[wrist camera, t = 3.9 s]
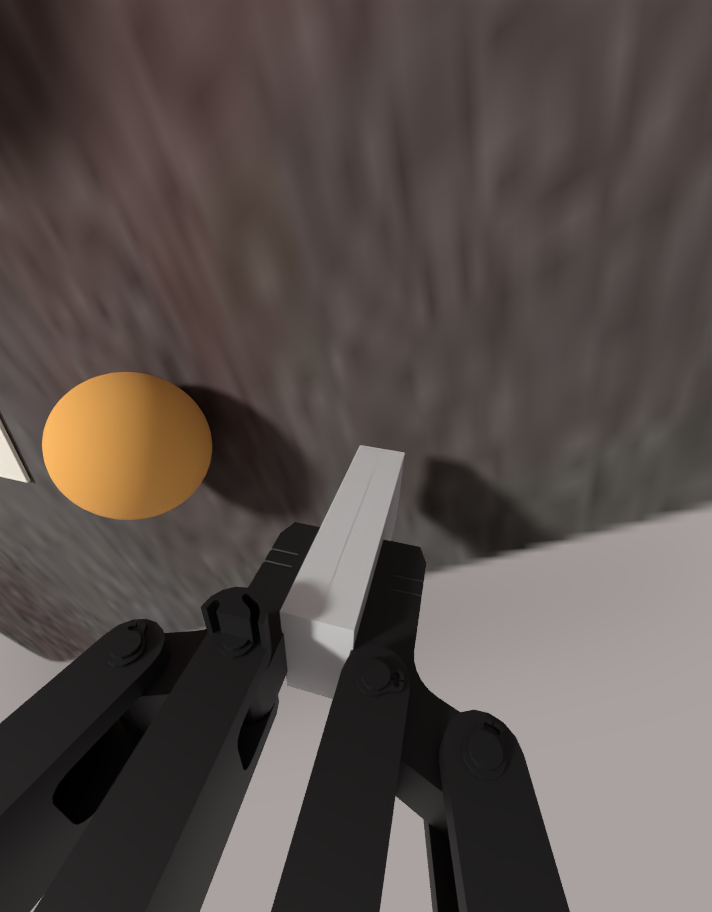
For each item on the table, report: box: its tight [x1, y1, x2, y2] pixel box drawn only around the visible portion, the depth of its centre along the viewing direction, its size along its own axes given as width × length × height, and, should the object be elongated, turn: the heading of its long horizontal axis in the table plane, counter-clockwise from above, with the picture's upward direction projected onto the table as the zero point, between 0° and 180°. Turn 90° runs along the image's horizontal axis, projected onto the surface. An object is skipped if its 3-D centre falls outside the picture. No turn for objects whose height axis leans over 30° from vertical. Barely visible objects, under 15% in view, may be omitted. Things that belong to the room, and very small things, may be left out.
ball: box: [42, 372, 212, 520], centre depth 15 cm, size 6×6×6 cm
